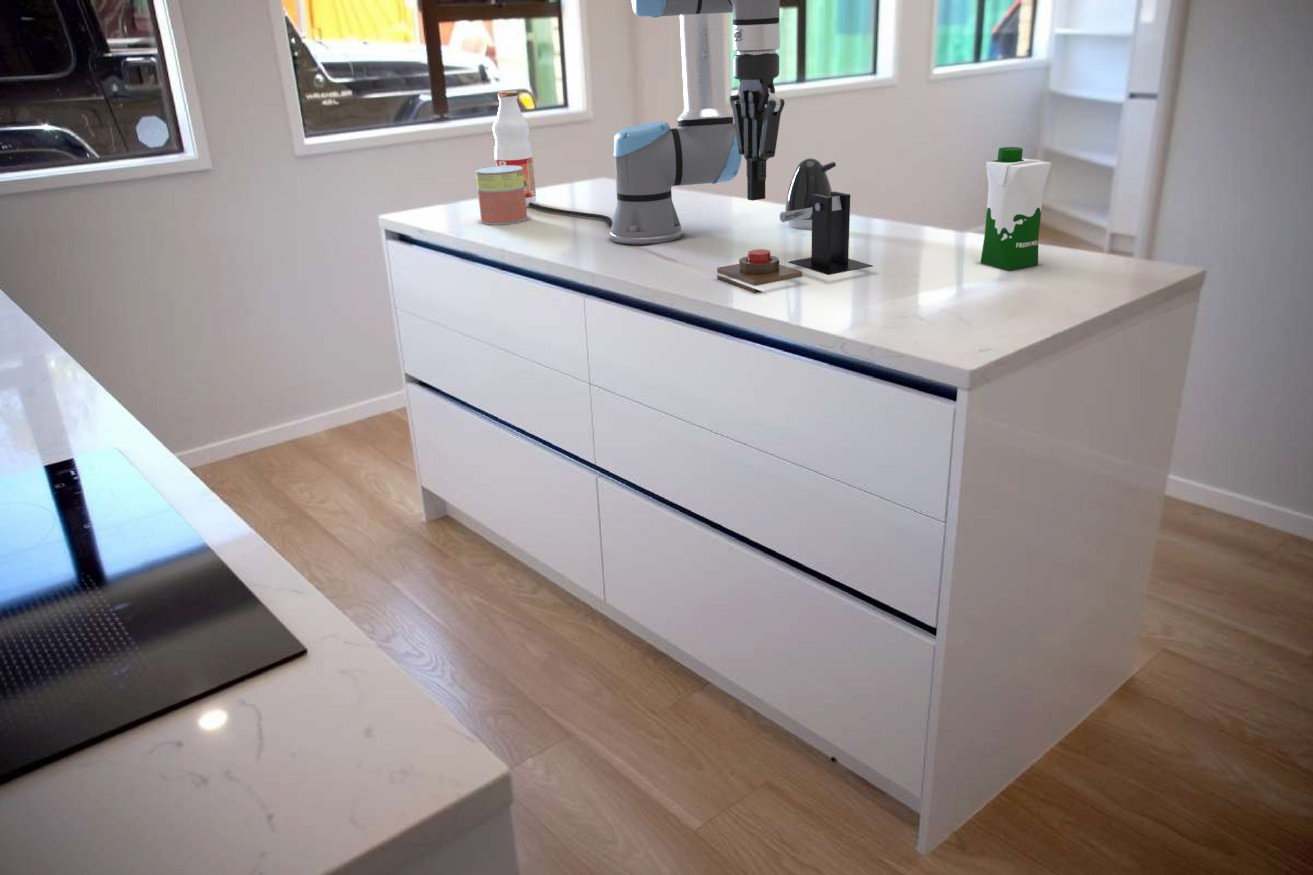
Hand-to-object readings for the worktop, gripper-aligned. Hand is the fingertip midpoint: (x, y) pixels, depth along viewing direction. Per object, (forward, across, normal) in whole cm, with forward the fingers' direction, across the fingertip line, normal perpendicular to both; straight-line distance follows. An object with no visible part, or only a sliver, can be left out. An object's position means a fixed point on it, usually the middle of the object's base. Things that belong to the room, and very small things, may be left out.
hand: (756, 198), depth 171 cm
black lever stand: (+14, +3, +14) cm, 20 cm away
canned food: (+16, -86, -15) cm, 88 cm away
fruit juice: (+16, -102, -5) cm, 103 cm away
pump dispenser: (+15, -27, +32) cm, 44 cm away
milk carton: (+15, +19, +42) cm, 48 cm away
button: (+11, +1, 0) cm, 11 cm away
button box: (+14, +1, 0) cm, 14 cm away
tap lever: (+5, -1, +14) cm, 15 cm away
